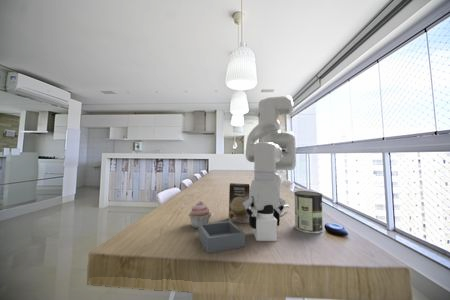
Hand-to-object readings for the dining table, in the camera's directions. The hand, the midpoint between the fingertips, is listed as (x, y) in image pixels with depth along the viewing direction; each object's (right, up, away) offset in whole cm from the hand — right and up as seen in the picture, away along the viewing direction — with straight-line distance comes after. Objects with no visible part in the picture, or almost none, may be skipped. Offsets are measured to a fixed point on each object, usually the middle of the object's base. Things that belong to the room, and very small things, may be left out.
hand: (264, 226), depth 64 cm
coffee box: (-8, -5, +17) cm, 20 cm away
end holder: (-16, -3, -4) cm, 16 cm away
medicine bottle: (0, -4, 0) cm, 4 cm away
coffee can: (+19, -5, +9) cm, 22 cm away
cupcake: (-24, -4, +10) cm, 26 cm away
